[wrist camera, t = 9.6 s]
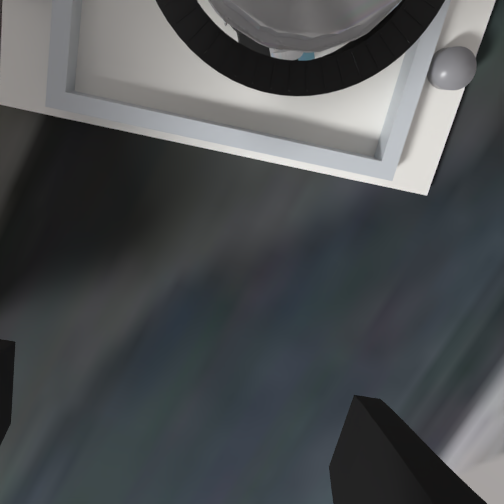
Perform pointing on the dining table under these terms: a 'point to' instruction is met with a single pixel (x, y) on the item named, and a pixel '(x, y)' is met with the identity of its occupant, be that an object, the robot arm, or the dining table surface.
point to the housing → (239, 89)
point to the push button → (301, 39)
